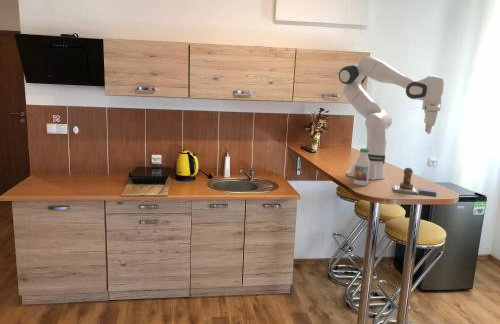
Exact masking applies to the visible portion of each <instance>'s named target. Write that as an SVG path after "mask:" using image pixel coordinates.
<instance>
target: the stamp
mask: <svg viewBox="0 0 500 324" xmlns="http://www.w3.org/2000/svg"><path fill="white" fill-rule="evenodd" d="M413 172H414V171H413V169H412V168H411V167H406V168H404V169H403V180H402V181H400V182H399V186H400V189H407V190H412V188H414V183H413V182H411V181H412V175H413Z"/></svg>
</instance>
